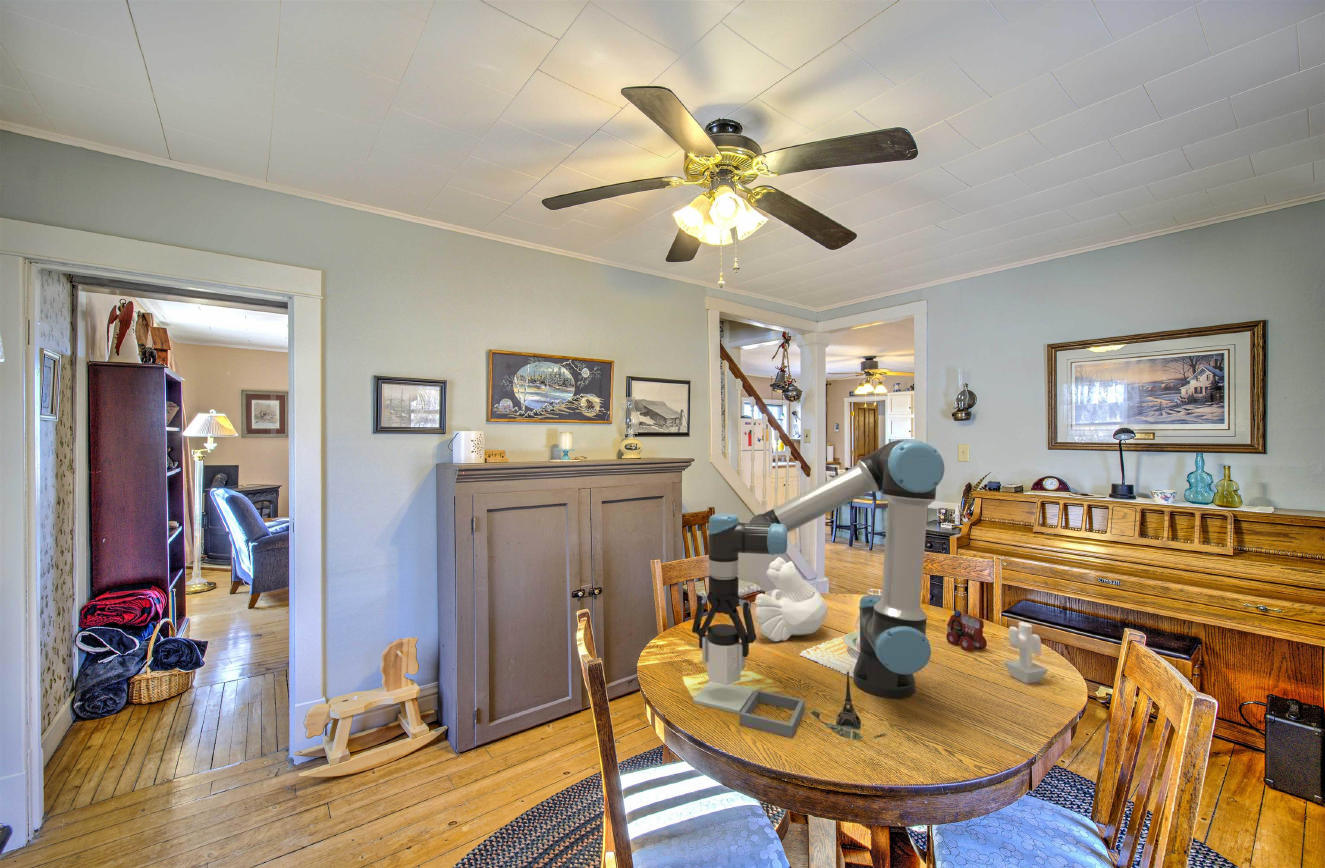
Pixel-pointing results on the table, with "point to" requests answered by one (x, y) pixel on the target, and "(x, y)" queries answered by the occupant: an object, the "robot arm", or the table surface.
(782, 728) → the pocket
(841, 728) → the eiffel tower figurine
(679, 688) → the table surface
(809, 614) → the decorative rooster
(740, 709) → the coaster
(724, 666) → the jar
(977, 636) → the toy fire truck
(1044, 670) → the figurine
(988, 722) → the table surface
